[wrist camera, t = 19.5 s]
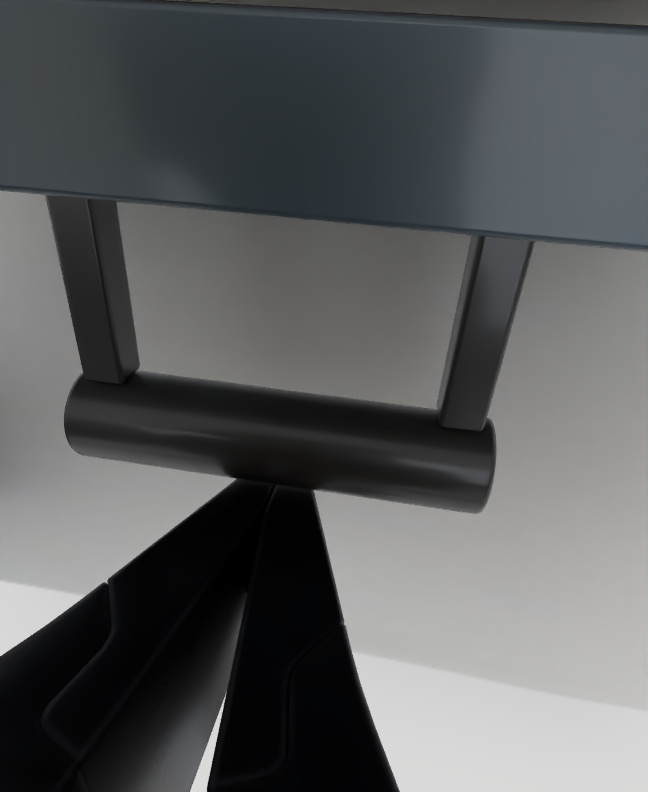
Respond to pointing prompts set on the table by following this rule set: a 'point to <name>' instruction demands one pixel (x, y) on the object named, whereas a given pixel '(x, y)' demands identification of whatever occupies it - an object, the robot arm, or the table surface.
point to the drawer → (317, 201)
